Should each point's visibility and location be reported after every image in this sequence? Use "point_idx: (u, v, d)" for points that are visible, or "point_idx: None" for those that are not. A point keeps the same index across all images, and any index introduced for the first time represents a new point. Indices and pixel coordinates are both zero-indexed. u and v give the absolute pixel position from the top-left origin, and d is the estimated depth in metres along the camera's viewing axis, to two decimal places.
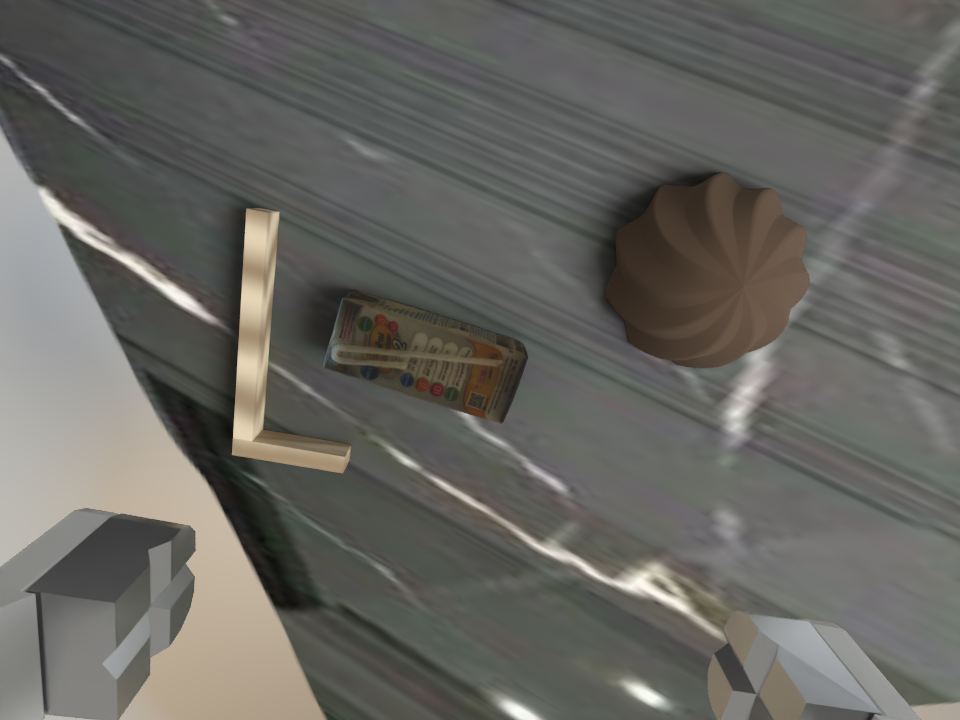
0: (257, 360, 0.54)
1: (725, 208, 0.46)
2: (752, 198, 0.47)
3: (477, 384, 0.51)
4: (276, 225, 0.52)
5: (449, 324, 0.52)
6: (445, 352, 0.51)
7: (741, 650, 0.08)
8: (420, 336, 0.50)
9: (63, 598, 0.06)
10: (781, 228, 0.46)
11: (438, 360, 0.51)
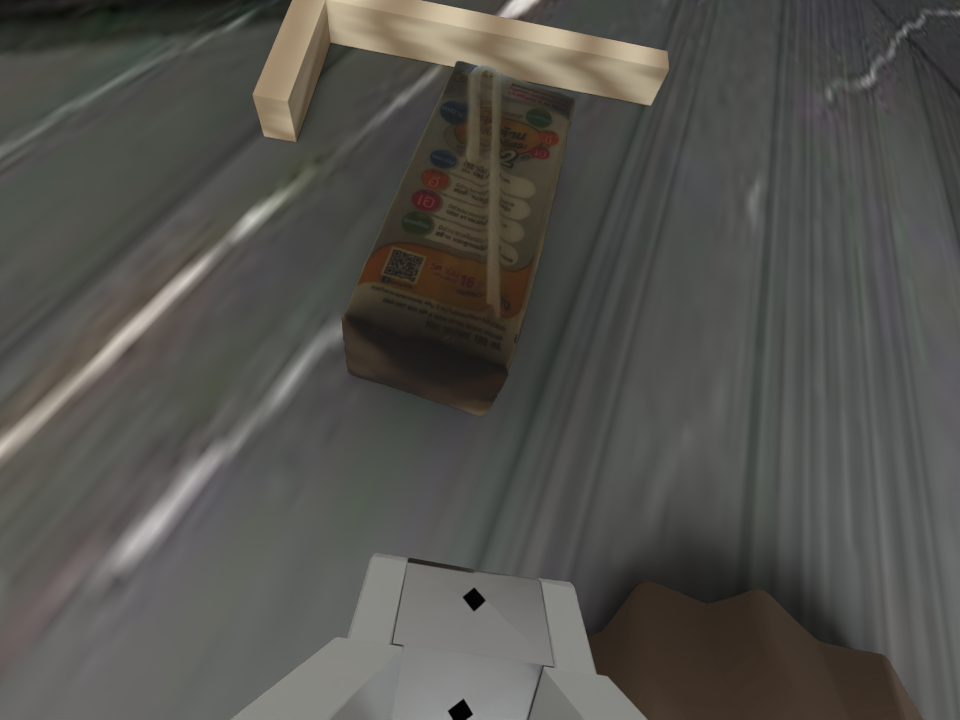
0: (462, 27, 0.36)
1: None
2: None
3: (441, 268, 0.24)
4: (638, 95, 0.39)
5: None
6: (503, 222, 0.26)
7: None
8: (528, 187, 0.27)
9: (424, 650, 0.06)
10: None
11: (488, 208, 0.26)
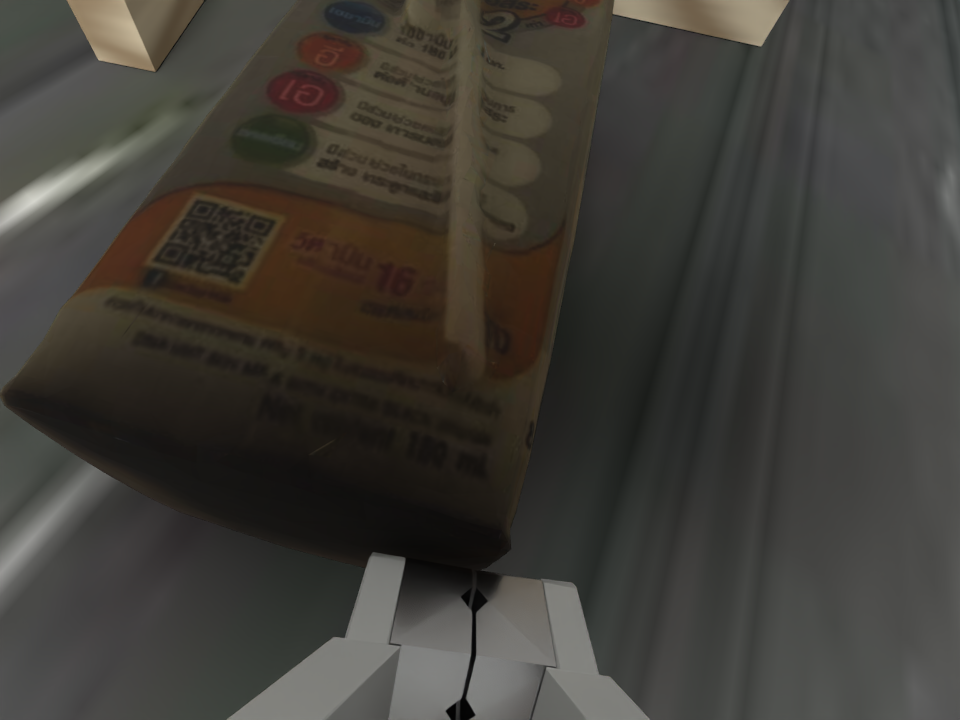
0: None
1: None
2: None
3: (322, 247, 0.09)
4: (742, 28, 0.24)
5: None
6: (489, 144, 0.11)
7: (470, 610, 0.07)
8: (544, 77, 0.12)
9: (421, 650, 0.06)
10: None
11: (453, 110, 0.11)
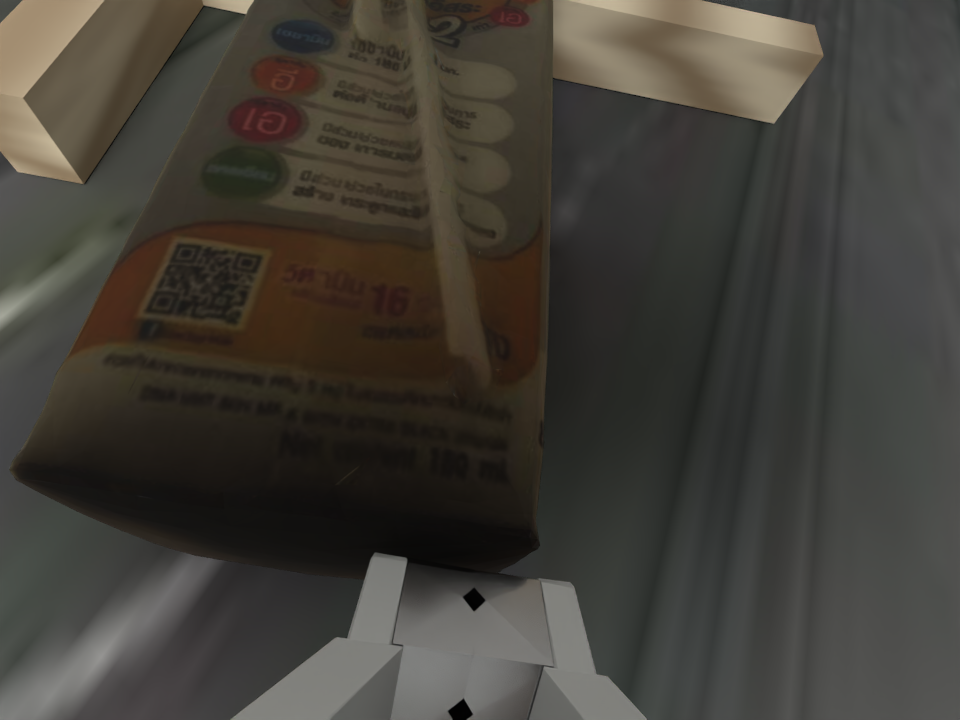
0: None
1: None
2: None
3: (314, 277, 0.09)
4: (754, 105, 0.22)
5: None
6: (457, 152, 0.11)
7: None
8: (500, 79, 0.13)
9: (424, 650, 0.06)
10: None
11: (418, 123, 0.11)
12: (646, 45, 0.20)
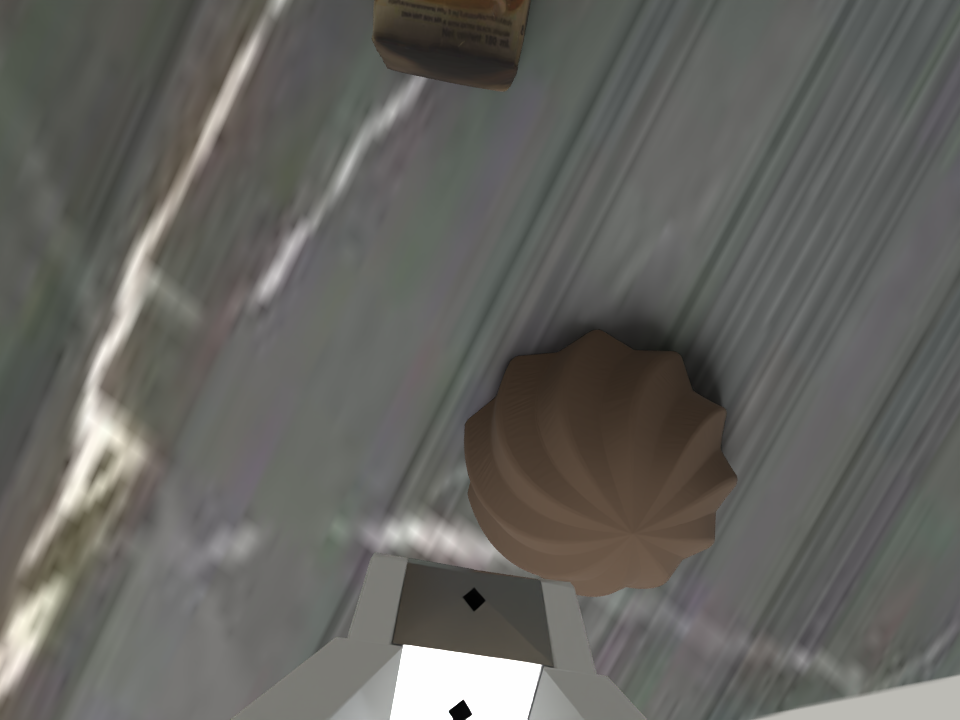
0: None
1: (717, 503, 0.34)
2: None
3: None
4: None
5: None
6: None
7: None
8: None
9: (424, 650, 0.06)
10: (674, 570, 0.34)
11: None
12: None
